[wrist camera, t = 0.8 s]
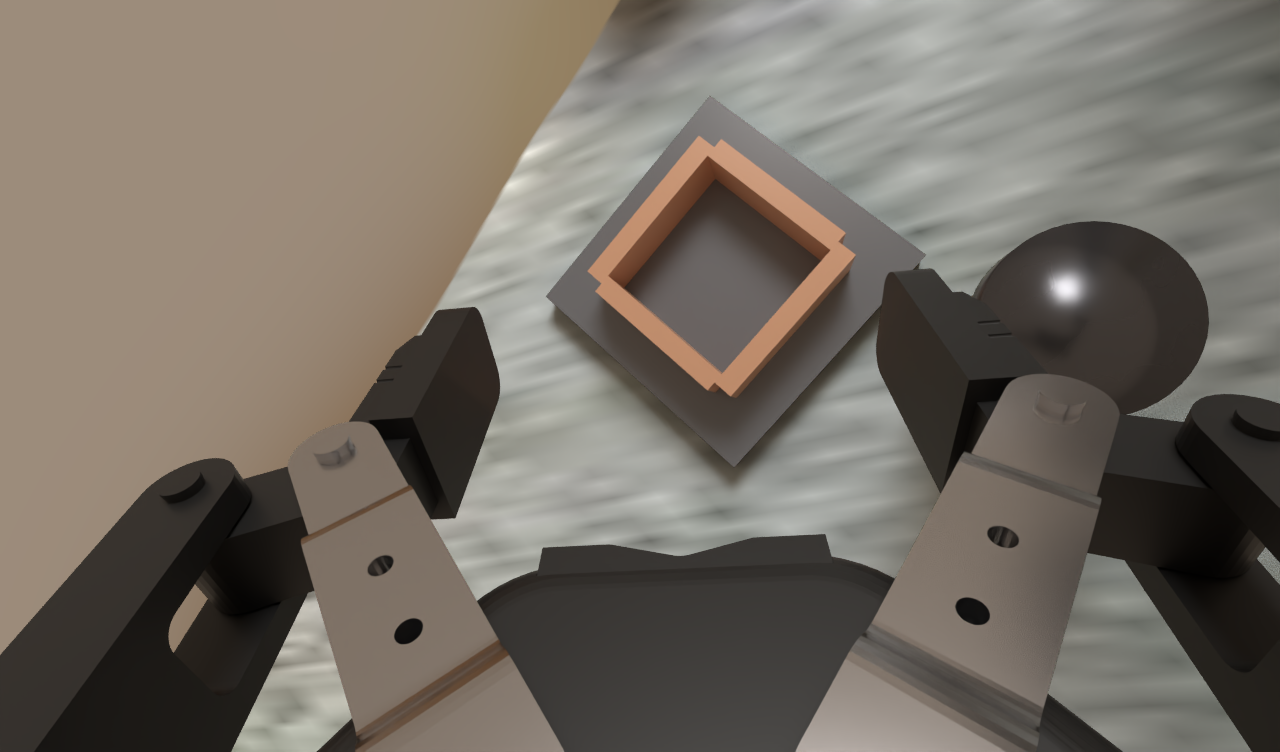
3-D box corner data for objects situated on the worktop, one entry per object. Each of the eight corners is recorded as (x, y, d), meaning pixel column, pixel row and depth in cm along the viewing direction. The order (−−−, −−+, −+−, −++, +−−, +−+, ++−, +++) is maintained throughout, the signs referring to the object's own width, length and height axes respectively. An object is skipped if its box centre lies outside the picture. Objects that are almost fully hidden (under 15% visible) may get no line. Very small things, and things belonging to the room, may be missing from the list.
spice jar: (966, 271, 30) (1074, 182, 19) (1072, 348, 29) (1259, 305, 17) (883, 362, 31) (937, 331, 19) (983, 442, 30) (1104, 460, 18)
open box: (713, 109, 34) (701, 64, 30) (919, 262, 31) (940, 237, 26) (555, 301, 36) (522, 285, 31) (736, 465, 32) (727, 473, 28)
